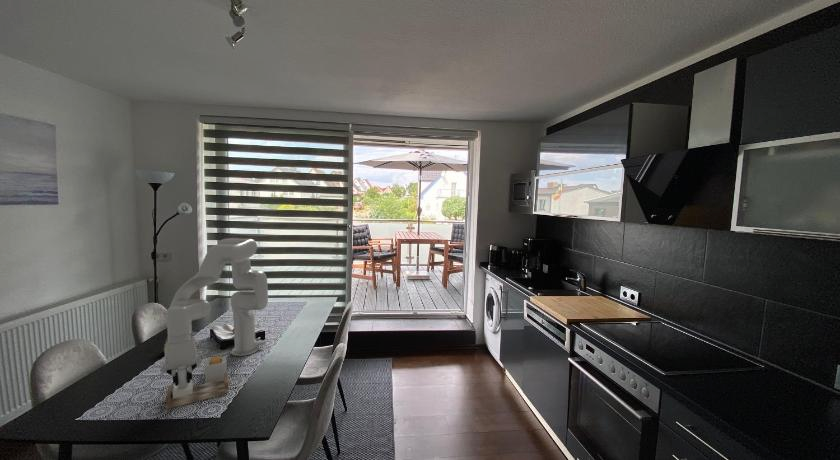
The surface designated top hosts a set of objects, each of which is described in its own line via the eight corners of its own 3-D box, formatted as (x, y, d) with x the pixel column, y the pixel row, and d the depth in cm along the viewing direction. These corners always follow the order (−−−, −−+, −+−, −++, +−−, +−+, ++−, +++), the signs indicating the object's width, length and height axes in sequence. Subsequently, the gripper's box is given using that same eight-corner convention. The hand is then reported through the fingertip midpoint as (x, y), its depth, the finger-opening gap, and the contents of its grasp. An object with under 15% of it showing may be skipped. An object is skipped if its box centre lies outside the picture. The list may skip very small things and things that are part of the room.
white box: (226, 373, 148) (226, 356, 147) (227, 380, 142) (226, 362, 141) (205, 378, 143) (204, 360, 143) (205, 385, 137) (204, 367, 137)
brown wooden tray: (227, 382, 140) (227, 372, 140) (228, 392, 132) (228, 382, 132) (169, 397, 129) (168, 386, 129) (166, 409, 122) (165, 397, 121)
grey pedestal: (193, 385, 133) (191, 359, 132) (192, 393, 127) (190, 366, 126) (174, 389, 129) (173, 362, 128) (173, 398, 123) (171, 370, 123)
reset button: (220, 361, 144) (220, 355, 144) (220, 365, 141) (220, 358, 141) (210, 364, 143) (210, 357, 142) (210, 367, 140) (210, 361, 139)
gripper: (205, 329, 134) (208, 372, 135) (154, 338, 125) (157, 384, 126) (205, 336, 127) (207, 381, 129) (151, 345, 119) (154, 394, 120)
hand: (182, 382), depth 128 cm, fingers closed on grey pedestal, 3 cm apart
